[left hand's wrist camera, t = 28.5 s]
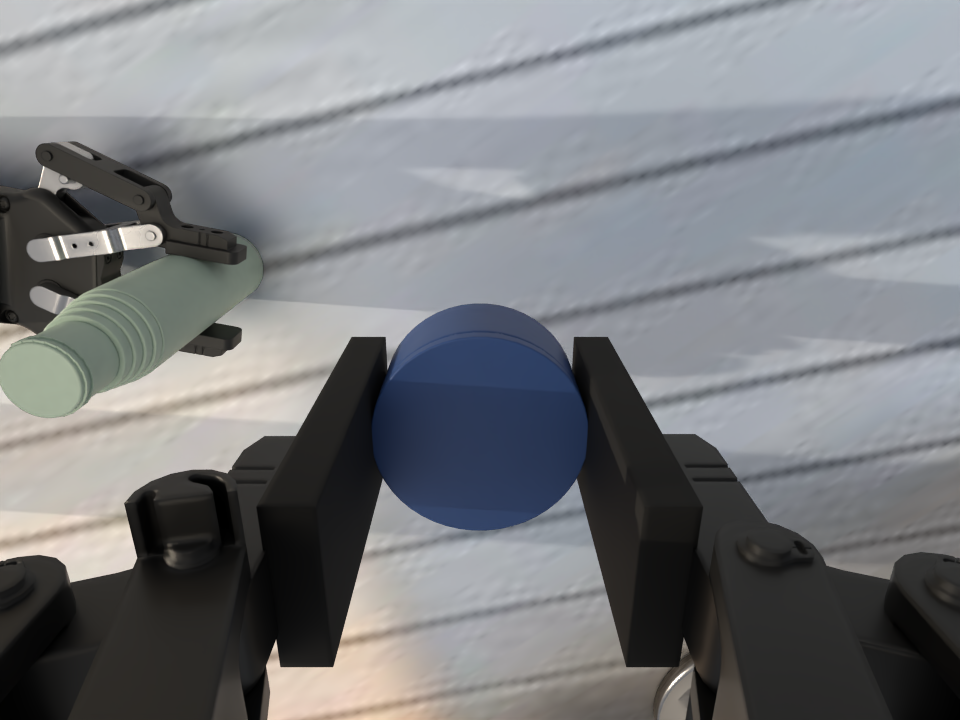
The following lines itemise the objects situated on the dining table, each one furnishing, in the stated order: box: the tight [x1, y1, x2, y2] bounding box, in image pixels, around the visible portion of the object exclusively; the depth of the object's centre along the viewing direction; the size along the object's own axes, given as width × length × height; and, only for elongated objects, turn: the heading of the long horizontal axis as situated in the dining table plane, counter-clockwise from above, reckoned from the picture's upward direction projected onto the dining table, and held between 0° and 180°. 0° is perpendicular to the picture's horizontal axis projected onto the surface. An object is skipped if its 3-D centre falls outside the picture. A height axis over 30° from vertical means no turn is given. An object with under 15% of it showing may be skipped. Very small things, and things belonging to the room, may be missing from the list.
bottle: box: [0, 233, 263, 418], centre depth 33 cm, size 4×4×19 cm
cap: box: [372, 304, 588, 530], centre depth 13 cm, size 4×4×2 cm
